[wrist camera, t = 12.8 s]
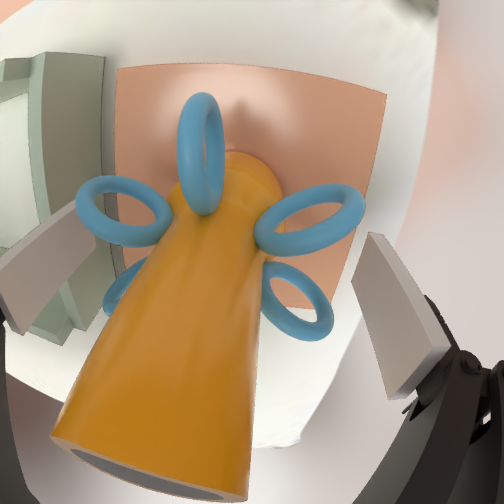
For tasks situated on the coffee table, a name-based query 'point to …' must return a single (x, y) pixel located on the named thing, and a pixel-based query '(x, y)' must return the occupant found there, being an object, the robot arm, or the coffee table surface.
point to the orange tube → (194, 316)
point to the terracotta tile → (252, 143)
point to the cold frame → (64, 169)
